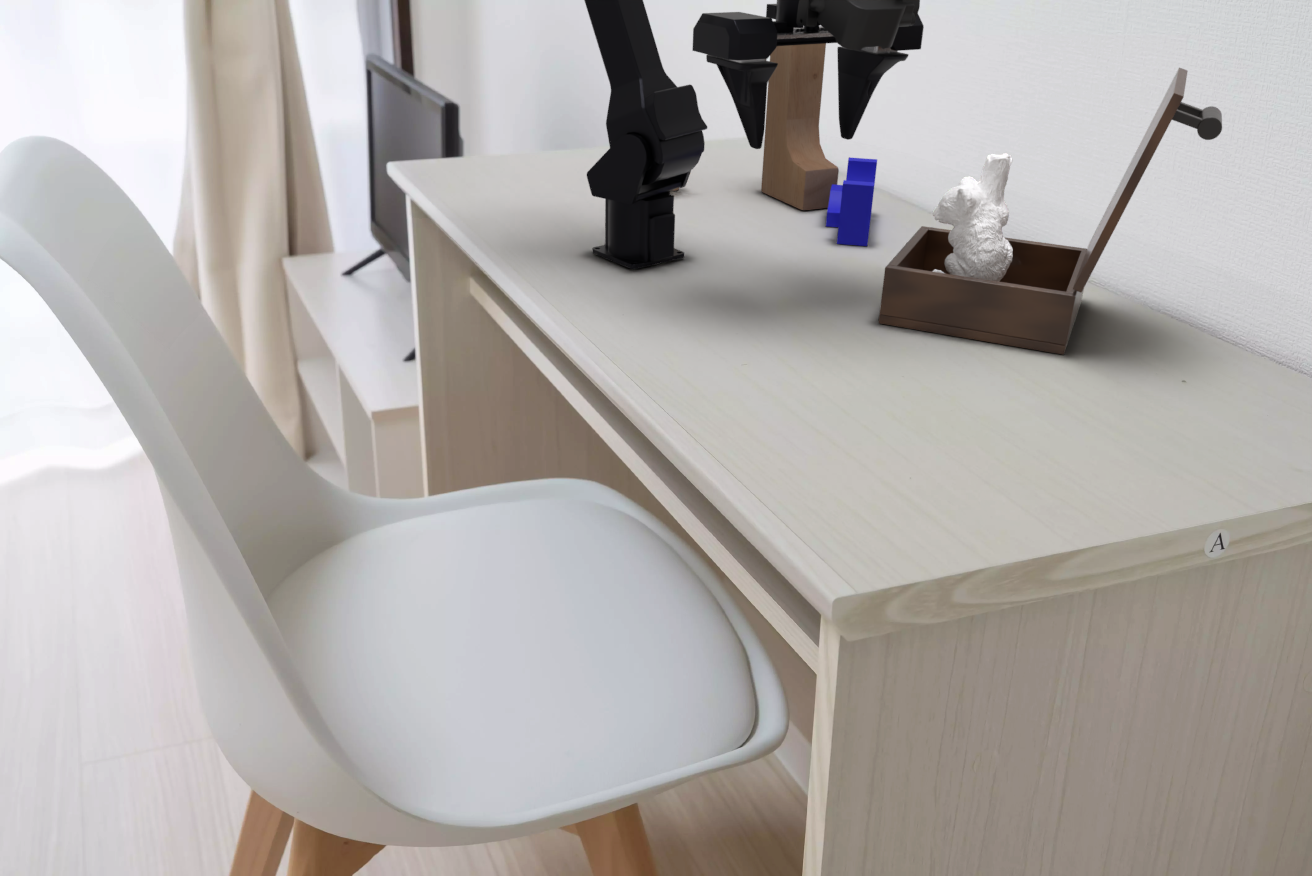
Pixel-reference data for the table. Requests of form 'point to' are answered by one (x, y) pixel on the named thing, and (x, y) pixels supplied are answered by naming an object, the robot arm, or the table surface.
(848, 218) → the cable clip
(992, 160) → the white sculpted figure
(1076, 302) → the chest
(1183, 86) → the chest lid
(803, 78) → the wooden block
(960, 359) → the table surface
